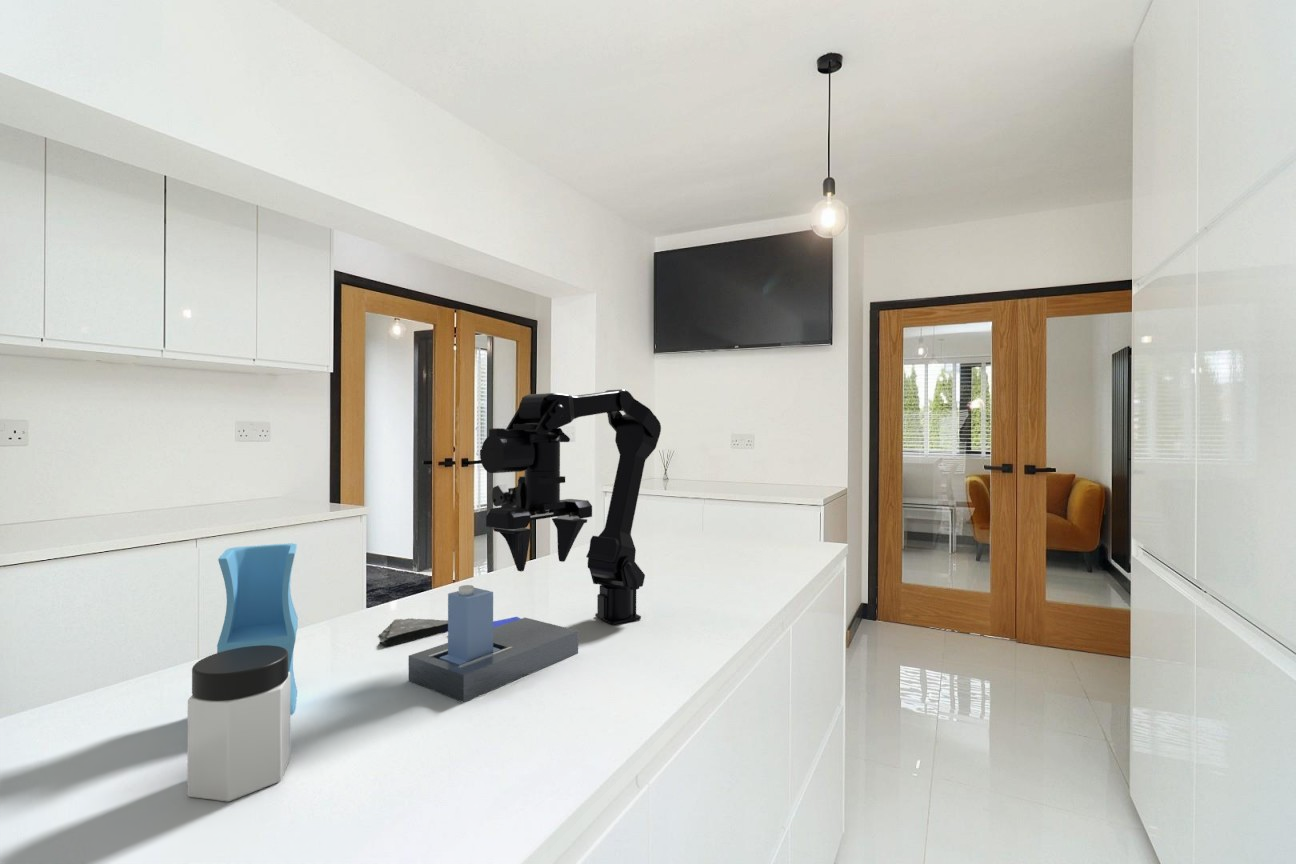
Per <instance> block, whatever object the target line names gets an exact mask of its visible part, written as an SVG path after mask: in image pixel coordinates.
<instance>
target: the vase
mask: <svg viewBox="0 0 1296 864" xmlns="http://www.w3.org/2000/svg"><path fill="white" fill-rule="evenodd" d="M297 547H298V545H297V543H294V542H293V543H292V542H291V543H277V544H276V543H275V544H274V543H273V544H262V545H261V544H260V545H259V544H258V545H246V546H235V547H230V548H227V549H225V550H224V551H223V552H222V553H221V555H220V556H219V558H218V559H217V561H218V564H219V568H220V570H221V571H220V572H221V573H222V574H221V575H222V578H223V581H224V586H225V594H226V606H225V607H226V608H225V613H224V614H225V615H224V621H223V625H222V628H221V632H220V635H219V638H218V641H217V645H216V647H217V650H216V651H217V652H216V653H219V652H223V651H227V650H231V649H236V648H241V647H249V646H260V645H271V646H279V647H282V648H285V649H286V650H287V651H288V672H290V673H291V688H290V716H291V715H293V714H295V711H296V709H297V697H298V689H297V688H298V687H297V685H296V683H297V682H296V681H295V680H296V678H295V673H294V672H295V671H294V649H295V645H296V639H297V638H296V637H297V632H298V627H299V626H298V625H299V624H298V623H299V622H298V620H299V618H298V615H297V612H296V609H295V606H294V603H293V599H292V593H291V580H292V578H291V577H292V571H293V565H294V561H295V560H294V559H295V554H296V551H297Z"/></svg>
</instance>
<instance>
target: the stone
mask: <svg viewBox="0 0 1296 864" xmlns="http://www.w3.org/2000/svg"><path fill="white" fill-rule="evenodd" d="M443 633H448V619H446V620H445V619H432V618H431V619H429V618H426V619H424V618H405V619H404V618H403V619H402V618H397V619H394V620H393V621H392V622H390V624H389V625H388V626H387V627H386V628H385V629H383V631H382V632H381V633H380V634H378V637H380V638H381V639H382V640H380V641H378V642H379V645H380V646H388V645H389V646H390V645H391V646H399V645H403V644H407V643H410V642H414V641H418V640H421V639H424V638H428V637H433V636H437V635H440V634H443Z"/></svg>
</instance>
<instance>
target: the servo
mask: <svg viewBox="0 0 1296 864" xmlns="http://www.w3.org/2000/svg"><path fill="white" fill-rule="evenodd" d="M447 620H448V632H447V643H448V655H445V656H442V657H439V660H442V661H445V662H448V663H451V664H454V665H457V666H459V665H462V664H465V663H467V662H470V661H473V660H475V659H478V658H481V657H483V656H486V655H489V654H492V653H494V652H497V651H500V650H501V649H498V648H495V647H493V621H494V591H491V590H486V589H482V588H477V587H474V585H472V584H471V585H470V584H465V585H464V584H463V585H460V586H458V591H453V592H449V593H447Z"/></svg>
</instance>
